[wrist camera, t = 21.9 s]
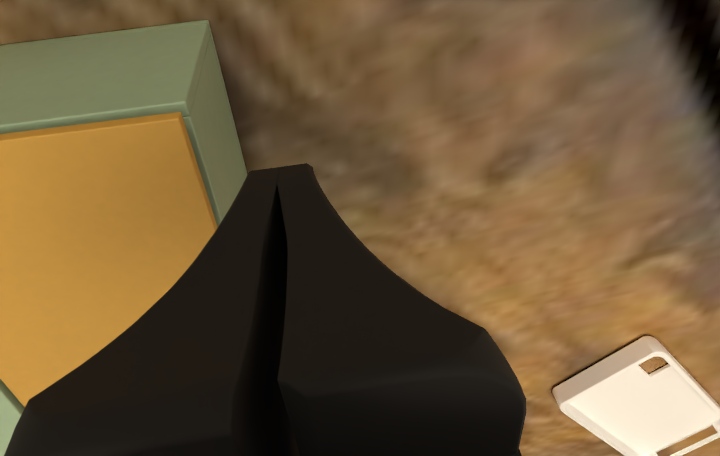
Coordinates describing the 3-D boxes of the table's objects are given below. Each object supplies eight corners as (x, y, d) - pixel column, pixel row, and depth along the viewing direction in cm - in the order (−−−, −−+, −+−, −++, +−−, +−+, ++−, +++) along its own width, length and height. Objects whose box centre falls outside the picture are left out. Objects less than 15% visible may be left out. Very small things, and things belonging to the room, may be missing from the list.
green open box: (208, 19, 18) (181, 116, 13) (275, 285, 26) (277, 416, 21) (-314, 83, 17) (-593, 218, 12) (-79, 338, 25) (-176, 489, 20)
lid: (181, 111, 13) (178, 118, 13) (274, 406, 21) (275, 416, 21) (-171, 154, 13) (-183, 163, 12) (61, 438, 21) (57, 447, 20)
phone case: (547, 389, 35) (638, 456, 43) (555, 408, 34) (647, 472, 42) (649, 331, 33) (727, 413, 41) (662, 349, 32) (739, 429, 40)
